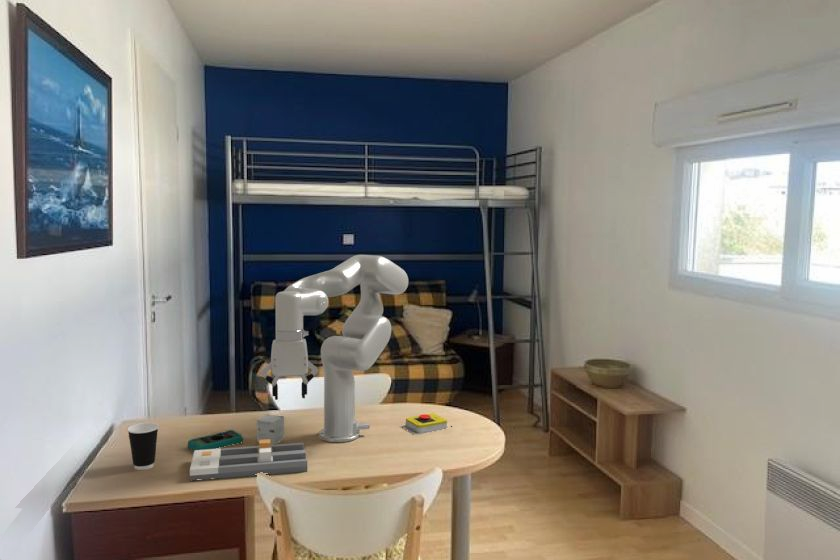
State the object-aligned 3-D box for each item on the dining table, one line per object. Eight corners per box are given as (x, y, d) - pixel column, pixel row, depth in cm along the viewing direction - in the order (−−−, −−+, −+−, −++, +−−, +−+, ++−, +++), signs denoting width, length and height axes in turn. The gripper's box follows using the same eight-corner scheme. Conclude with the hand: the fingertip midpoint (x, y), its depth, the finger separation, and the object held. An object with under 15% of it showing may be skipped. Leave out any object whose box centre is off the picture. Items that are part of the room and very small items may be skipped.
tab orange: (271, 451, 182) (271, 438, 182) (272, 455, 178) (272, 442, 178) (257, 452, 181) (257, 439, 181) (257, 456, 177) (257, 444, 177)
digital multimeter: (244, 443, 194) (244, 434, 194) (197, 455, 184) (197, 445, 183) (233, 437, 199) (233, 428, 199) (186, 448, 189) (186, 439, 189)
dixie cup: (166, 464, 176) (165, 425, 175) (141, 474, 169) (140, 434, 168) (146, 458, 180) (145, 420, 178) (121, 468, 173) (120, 428, 172)
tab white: (272, 460, 175) (272, 447, 175) (273, 465, 172) (272, 452, 171) (257, 461, 174) (257, 448, 174) (257, 466, 171) (257, 453, 170)
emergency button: (400, 415, 210) (439, 408, 218) (400, 428, 210) (438, 421, 218) (415, 423, 202) (454, 416, 210) (414, 436, 203) (454, 429, 210)
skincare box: (256, 443, 193) (256, 419, 193) (267, 436, 199) (267, 413, 198) (274, 445, 191) (274, 421, 191) (284, 438, 197) (284, 415, 196)
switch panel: (303, 452, 186) (303, 441, 186) (307, 471, 172) (307, 459, 172) (194, 461, 178) (194, 449, 178) (190, 481, 165) (189, 469, 165)
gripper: (319, 332, 184) (319, 392, 186) (257, 334, 179) (258, 396, 181) (322, 337, 177) (322, 399, 178) (257, 339, 172) (258, 403, 174)
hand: (289, 397), depth 180 cm, fingers open, 6 cm apart
